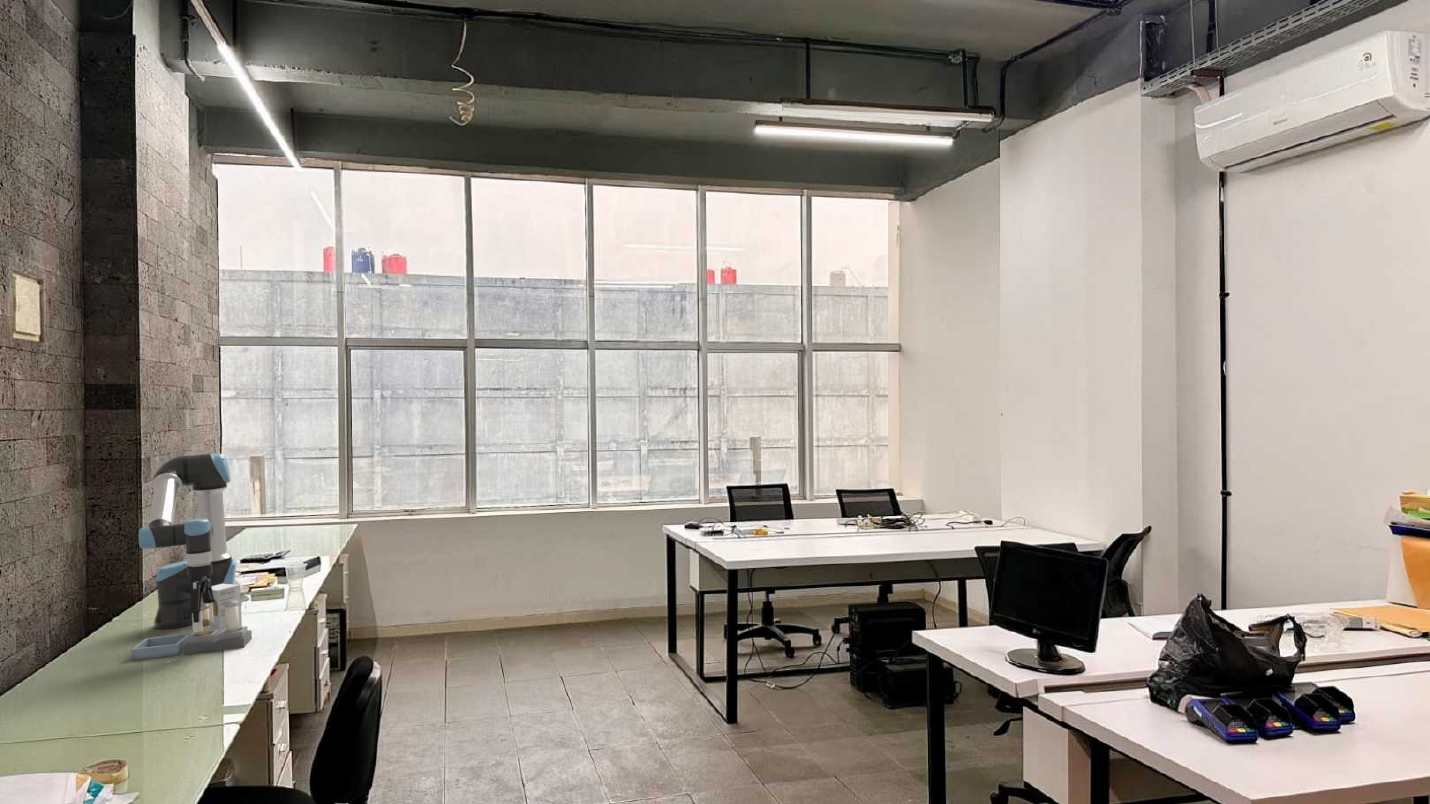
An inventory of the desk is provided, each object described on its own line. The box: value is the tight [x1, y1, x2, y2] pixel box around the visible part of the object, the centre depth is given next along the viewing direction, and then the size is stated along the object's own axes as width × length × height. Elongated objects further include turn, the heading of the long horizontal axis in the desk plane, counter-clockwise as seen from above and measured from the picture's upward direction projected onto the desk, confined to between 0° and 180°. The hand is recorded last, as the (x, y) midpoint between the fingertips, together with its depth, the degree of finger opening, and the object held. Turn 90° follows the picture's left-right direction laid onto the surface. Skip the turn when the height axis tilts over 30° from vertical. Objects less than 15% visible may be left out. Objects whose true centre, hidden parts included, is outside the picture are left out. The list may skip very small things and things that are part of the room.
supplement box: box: [201, 584, 243, 633], centre depth 321 cm, size 10×9×17 cm
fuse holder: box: [184, 600, 253, 655], centre depth 302 cm, size 11×18×15 cm, turn 106°
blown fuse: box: [197, 603, 211, 636], centre depth 301 cm, size 4×4×12 cm
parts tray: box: [130, 633, 192, 661], centre depth 299 cm, size 14×14×4 cm
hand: (203, 626), depth 301 cm, fingers open, 12 cm apart
